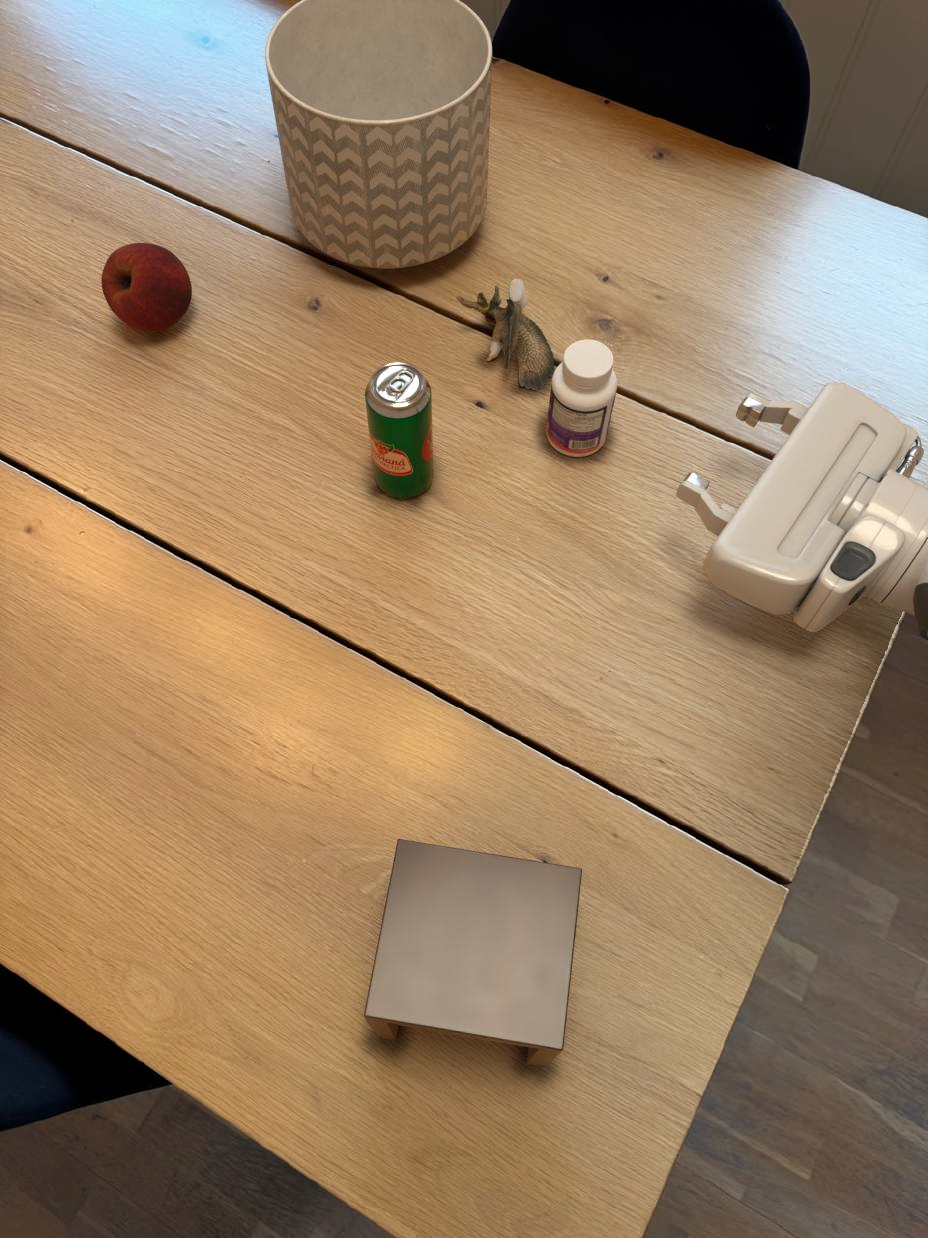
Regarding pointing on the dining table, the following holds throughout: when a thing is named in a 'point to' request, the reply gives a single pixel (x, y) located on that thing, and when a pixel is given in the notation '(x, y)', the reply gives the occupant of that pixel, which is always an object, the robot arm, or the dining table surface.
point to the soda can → (400, 429)
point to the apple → (146, 286)
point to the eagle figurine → (516, 335)
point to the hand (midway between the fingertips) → (712, 442)
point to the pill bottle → (581, 399)
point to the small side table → (476, 948)
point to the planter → (383, 125)
